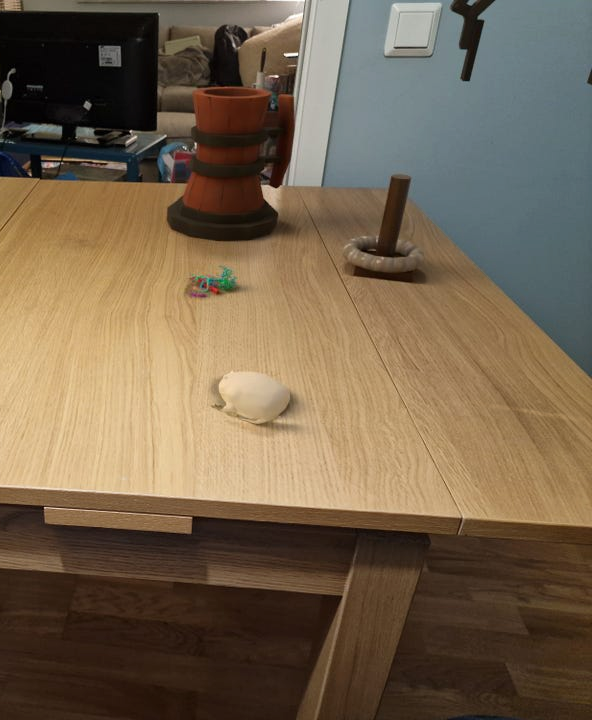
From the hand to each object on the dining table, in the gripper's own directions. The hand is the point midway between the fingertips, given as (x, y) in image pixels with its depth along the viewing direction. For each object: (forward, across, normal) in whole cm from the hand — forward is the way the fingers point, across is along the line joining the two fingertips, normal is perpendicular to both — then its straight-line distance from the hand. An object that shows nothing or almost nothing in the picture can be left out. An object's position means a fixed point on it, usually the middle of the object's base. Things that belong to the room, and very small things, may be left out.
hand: (527, 82), depth 78 cm
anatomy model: (+32, -36, -2) cm, 48 cm away
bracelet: (+29, -10, +18) cm, 36 cm away
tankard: (+32, -39, +35) cm, 61 cm away
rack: (+32, -10, +18) cm, 38 cm away
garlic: (+32, -25, -31) cm, 51 cm away
